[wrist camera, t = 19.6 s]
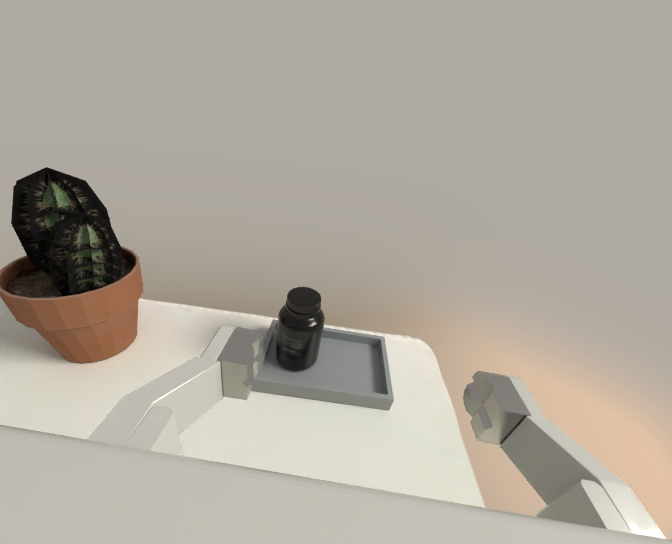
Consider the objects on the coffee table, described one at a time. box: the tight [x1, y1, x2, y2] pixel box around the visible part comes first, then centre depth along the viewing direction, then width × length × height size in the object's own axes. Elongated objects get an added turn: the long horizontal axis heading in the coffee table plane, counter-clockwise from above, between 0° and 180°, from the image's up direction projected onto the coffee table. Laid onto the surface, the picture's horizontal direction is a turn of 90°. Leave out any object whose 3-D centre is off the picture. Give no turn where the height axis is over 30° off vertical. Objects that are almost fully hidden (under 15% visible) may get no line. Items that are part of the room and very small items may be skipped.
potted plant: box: [0, 168, 143, 363], centre depth 35 cm, size 14×14×25 cm
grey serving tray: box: [251, 320, 394, 410], centre depth 44 cm, size 20×12×2 cm, turn 87°
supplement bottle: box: [276, 287, 325, 371], centre depth 41 cm, size 7×7×12 cm
